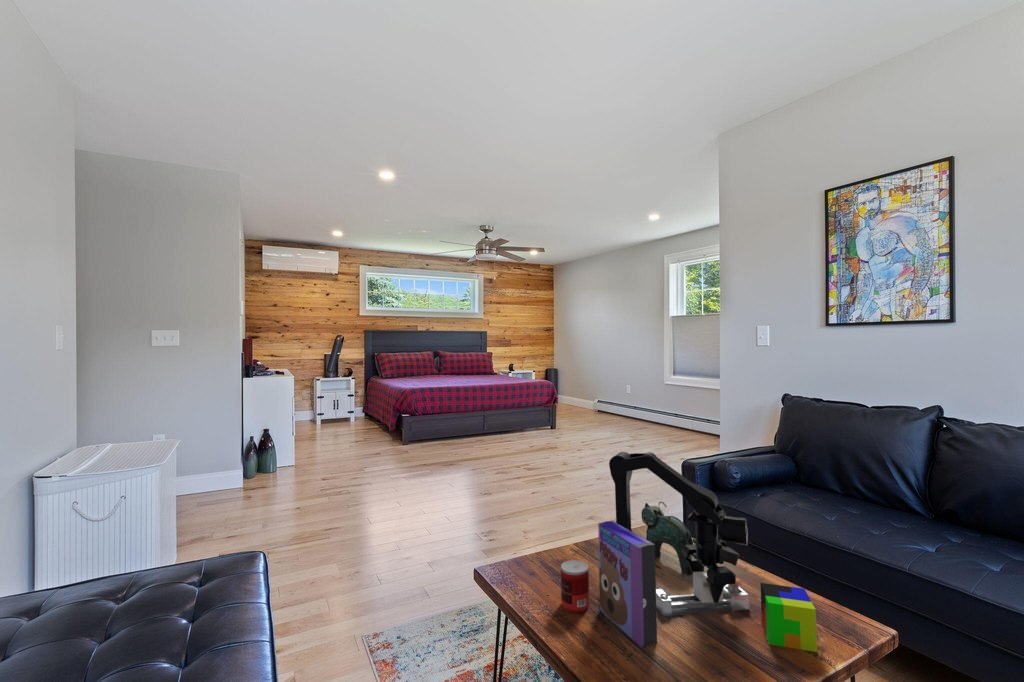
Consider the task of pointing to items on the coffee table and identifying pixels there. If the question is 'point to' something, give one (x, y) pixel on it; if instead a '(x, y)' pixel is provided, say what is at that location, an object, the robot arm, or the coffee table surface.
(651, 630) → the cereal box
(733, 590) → the button
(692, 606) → the rail
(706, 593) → the carriage
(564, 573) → the canned food
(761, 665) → the coffee table surface
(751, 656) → the coffee table surface
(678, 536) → the ceramic cat
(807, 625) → the puzzle toy
